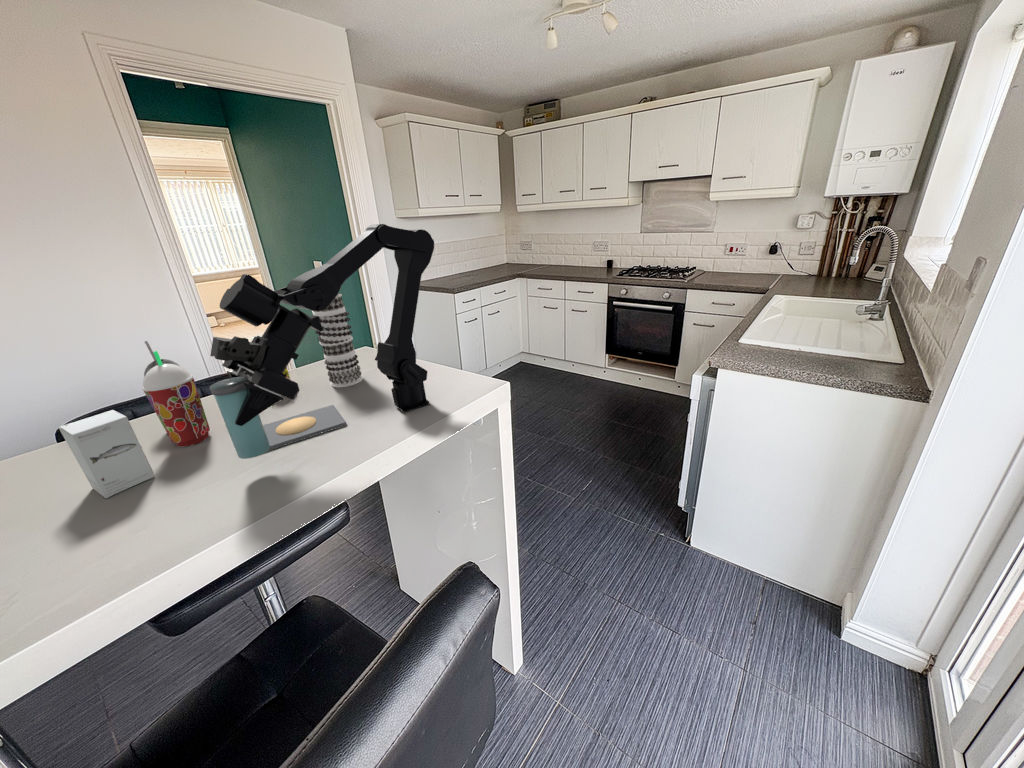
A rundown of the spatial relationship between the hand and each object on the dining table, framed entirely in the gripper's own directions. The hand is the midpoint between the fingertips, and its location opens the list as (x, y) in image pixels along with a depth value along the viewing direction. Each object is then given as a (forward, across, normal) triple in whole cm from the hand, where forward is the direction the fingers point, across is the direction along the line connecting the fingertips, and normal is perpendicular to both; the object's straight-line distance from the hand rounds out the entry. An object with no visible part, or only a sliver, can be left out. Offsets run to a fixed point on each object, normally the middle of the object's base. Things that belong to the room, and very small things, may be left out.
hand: (232, 420), depth 69 cm
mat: (-1, -12, +17) cm, 20 cm away
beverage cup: (+9, -40, +6) cm, 42 cm away
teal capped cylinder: (+4, 0, +6) cm, 7 cm away
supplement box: (+19, -19, -3) cm, 27 cm away
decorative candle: (-16, -29, +32) cm, 46 cm away
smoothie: (+10, -27, +6) cm, 29 cm away
